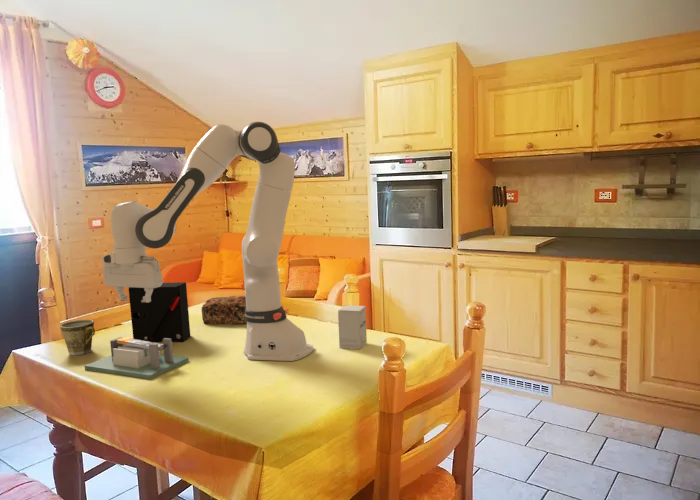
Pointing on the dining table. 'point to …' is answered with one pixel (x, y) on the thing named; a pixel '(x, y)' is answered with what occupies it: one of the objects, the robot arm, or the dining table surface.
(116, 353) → the board
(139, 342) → the grey flat bar
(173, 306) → the electrical component
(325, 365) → the dining table surface
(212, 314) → the bread
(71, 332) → the ceramic cup
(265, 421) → the dining table surface
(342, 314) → the supplement box
